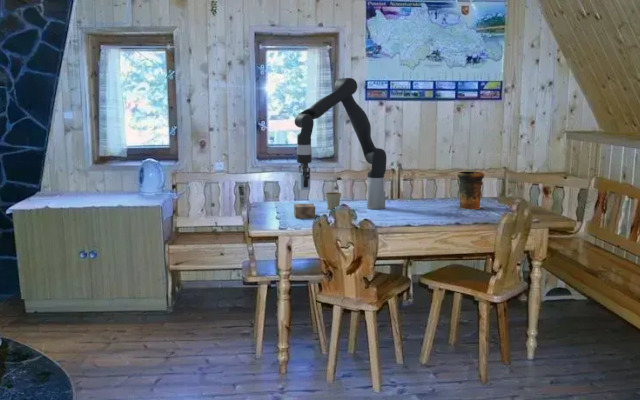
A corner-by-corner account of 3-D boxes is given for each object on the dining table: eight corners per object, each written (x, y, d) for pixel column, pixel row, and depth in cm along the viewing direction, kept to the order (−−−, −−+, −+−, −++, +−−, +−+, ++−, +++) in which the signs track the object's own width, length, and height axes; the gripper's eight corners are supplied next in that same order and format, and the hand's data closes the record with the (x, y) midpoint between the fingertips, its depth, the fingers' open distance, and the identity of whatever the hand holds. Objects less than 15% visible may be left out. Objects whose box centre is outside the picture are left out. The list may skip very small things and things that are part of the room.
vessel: (477, 211, 344) (477, 174, 341) (452, 208, 353) (453, 172, 350) (487, 207, 355) (488, 171, 353) (463, 205, 364) (464, 170, 361)
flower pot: (321, 209, 351) (321, 193, 349) (329, 206, 359) (329, 191, 358) (337, 210, 347) (337, 195, 345) (344, 208, 355) (344, 192, 353)
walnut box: (313, 214, 336) (313, 203, 335) (315, 218, 327) (315, 206, 326) (294, 215, 335) (294, 204, 334) (295, 218, 325) (295, 207, 324)
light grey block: (307, 188, 332) (307, 172, 330) (310, 189, 327) (310, 174, 326) (298, 188, 330) (298, 173, 329) (300, 190, 326) (300, 174, 324)
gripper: (315, 154, 320) (315, 188, 323) (307, 152, 334) (307, 184, 336) (300, 154, 318) (300, 188, 321) (293, 152, 331) (293, 185, 334)
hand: (304, 186), depth 328 cm, fingers closed on light grey block, 5 cm apart
